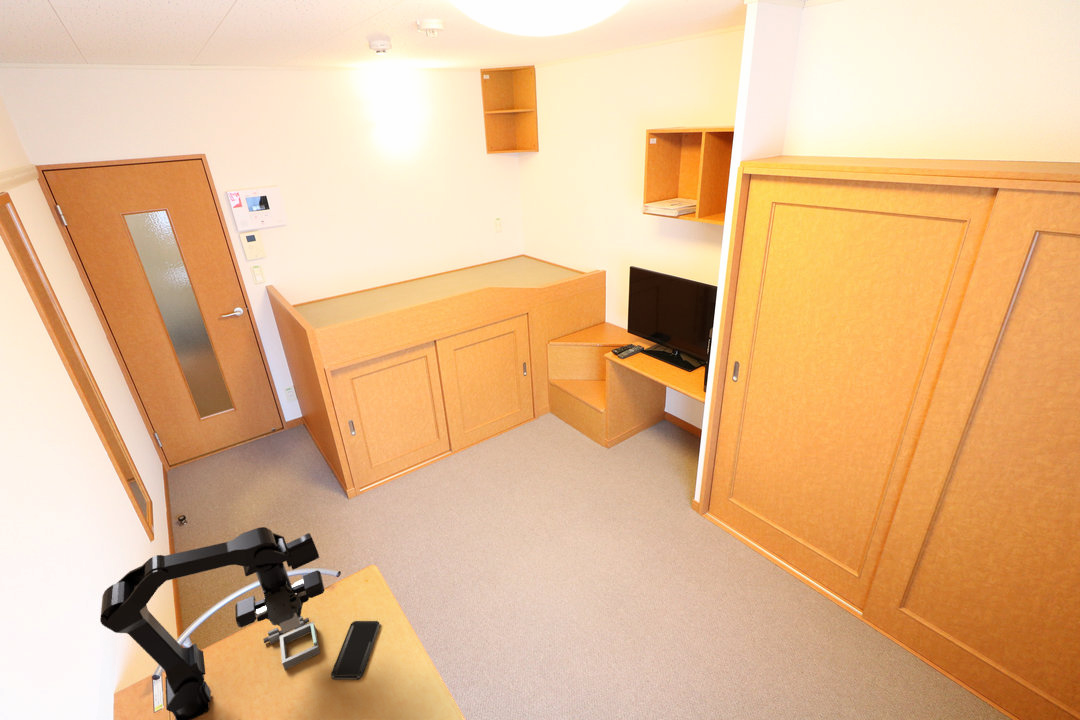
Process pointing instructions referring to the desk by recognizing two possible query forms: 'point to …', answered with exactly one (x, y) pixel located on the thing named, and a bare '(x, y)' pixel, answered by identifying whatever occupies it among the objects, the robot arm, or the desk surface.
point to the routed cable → (276, 633)
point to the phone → (355, 650)
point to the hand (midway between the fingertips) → (289, 620)
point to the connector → (290, 624)
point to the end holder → (304, 654)
